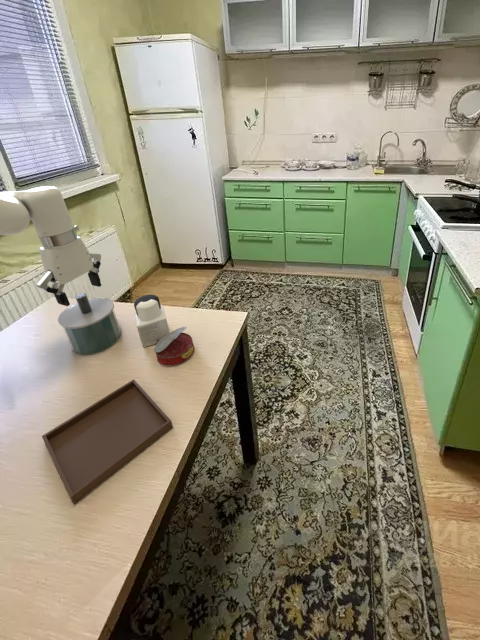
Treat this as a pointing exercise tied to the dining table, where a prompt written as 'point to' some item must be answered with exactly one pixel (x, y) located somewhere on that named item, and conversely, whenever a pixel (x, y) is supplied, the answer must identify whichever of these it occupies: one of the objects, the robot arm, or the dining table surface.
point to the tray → (105, 438)
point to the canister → (94, 335)
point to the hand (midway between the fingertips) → (81, 294)
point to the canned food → (174, 348)
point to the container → (150, 319)
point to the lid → (85, 312)
